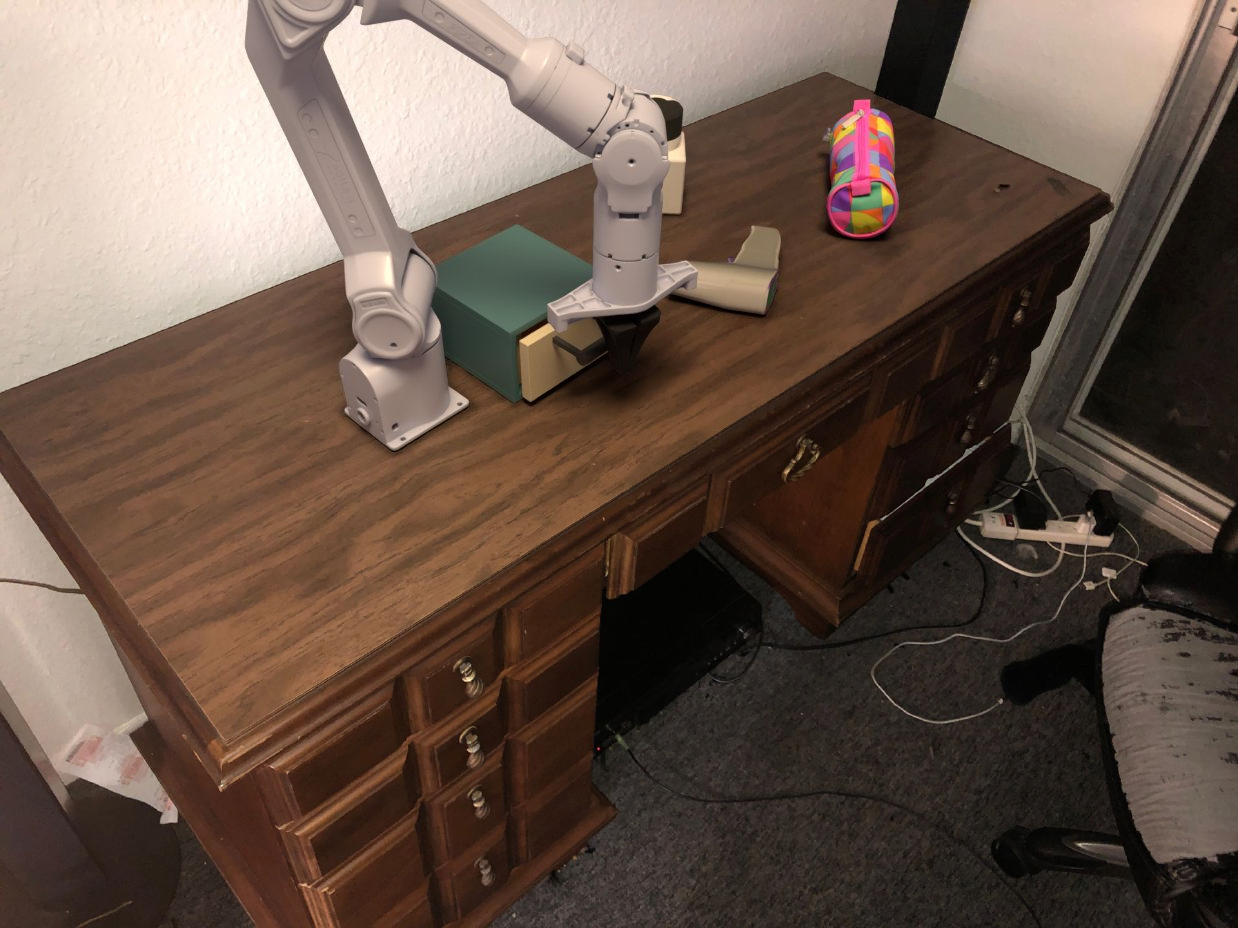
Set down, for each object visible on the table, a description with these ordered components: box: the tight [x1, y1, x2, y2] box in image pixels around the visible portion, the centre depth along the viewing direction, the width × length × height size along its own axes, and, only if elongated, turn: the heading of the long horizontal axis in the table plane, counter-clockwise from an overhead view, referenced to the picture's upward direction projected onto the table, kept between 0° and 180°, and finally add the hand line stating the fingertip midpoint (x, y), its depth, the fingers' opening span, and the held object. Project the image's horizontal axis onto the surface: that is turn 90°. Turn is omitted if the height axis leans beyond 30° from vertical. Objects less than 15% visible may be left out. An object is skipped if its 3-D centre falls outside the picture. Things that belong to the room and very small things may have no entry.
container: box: [649, 94, 687, 216], centre depth 119 cm, size 8×8×13 cm
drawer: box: [516, 317, 608, 403], centre depth 96 cm, size 17×12×7 cm
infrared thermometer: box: [670, 225, 782, 315], centre depth 110 cm, size 5×12×15 cm
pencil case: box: [821, 99, 900, 240], centre depth 121 cm, size 22×9×9 cm, turn 172°
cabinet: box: [431, 223, 593, 404], centre depth 98 cm, size 14×14×9 cm
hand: (621, 367), depth 90 cm, fingers closed
